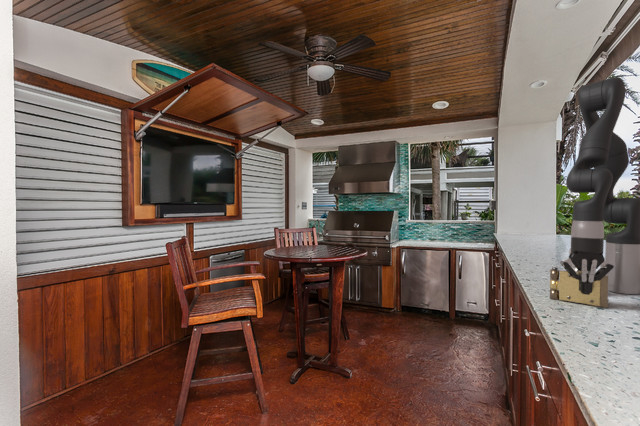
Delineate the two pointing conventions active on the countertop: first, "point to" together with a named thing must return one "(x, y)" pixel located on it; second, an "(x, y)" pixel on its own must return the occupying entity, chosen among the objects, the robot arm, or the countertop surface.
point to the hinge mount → (555, 296)
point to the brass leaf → (575, 290)
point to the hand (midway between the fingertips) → (585, 293)
